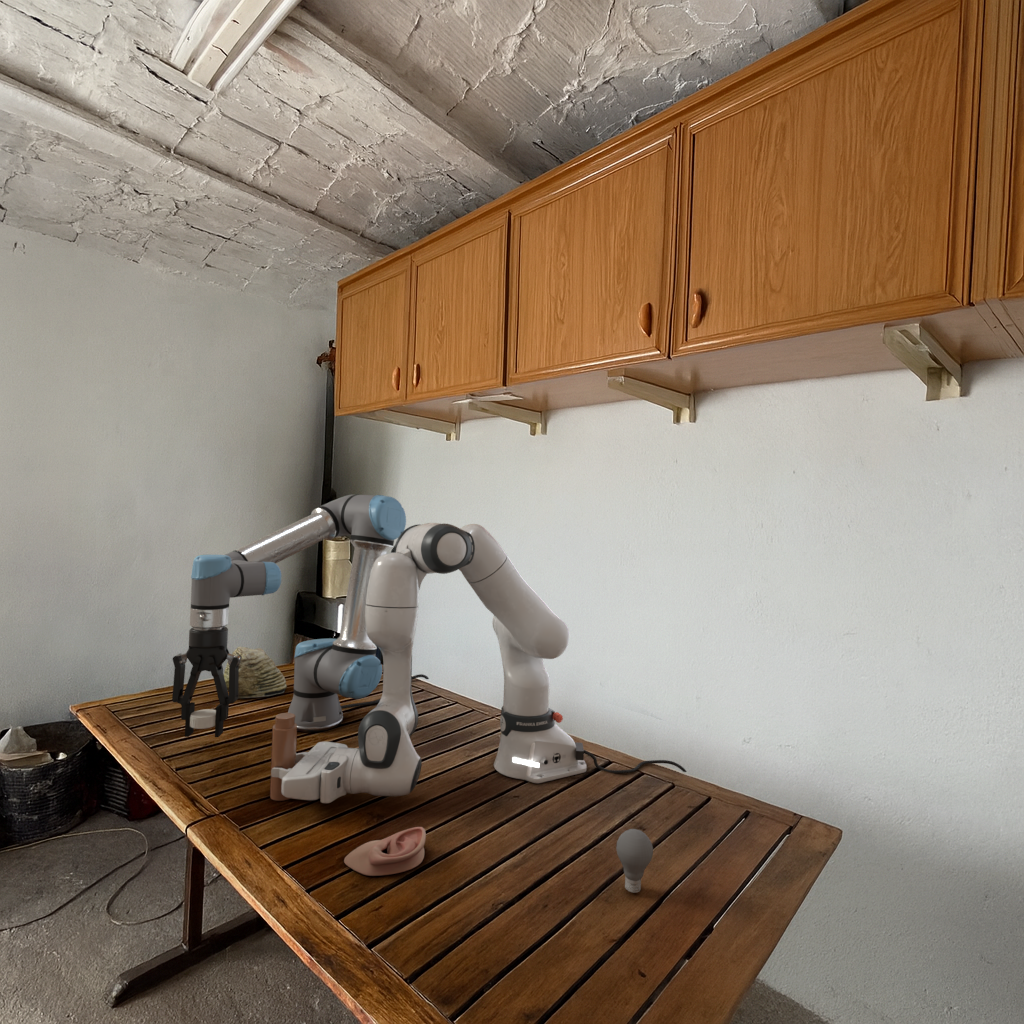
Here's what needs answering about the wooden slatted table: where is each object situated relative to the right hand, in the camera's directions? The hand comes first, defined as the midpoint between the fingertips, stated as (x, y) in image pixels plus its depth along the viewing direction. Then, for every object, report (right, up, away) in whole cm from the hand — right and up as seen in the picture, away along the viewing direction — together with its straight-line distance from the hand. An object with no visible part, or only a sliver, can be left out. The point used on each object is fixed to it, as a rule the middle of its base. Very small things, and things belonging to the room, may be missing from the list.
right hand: (279, 764), depth 134 cm
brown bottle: (+1, -6, 0) cm, 6 cm away
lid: (-17, +10, +2) cm, 20 cm away
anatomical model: (+27, -8, -22) cm, 35 cm away
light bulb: (+69, -10, -28) cm, 75 cm away
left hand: (-17, +6, +2) cm, 18 cm away
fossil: (-32, -4, +64) cm, 72 cm away
